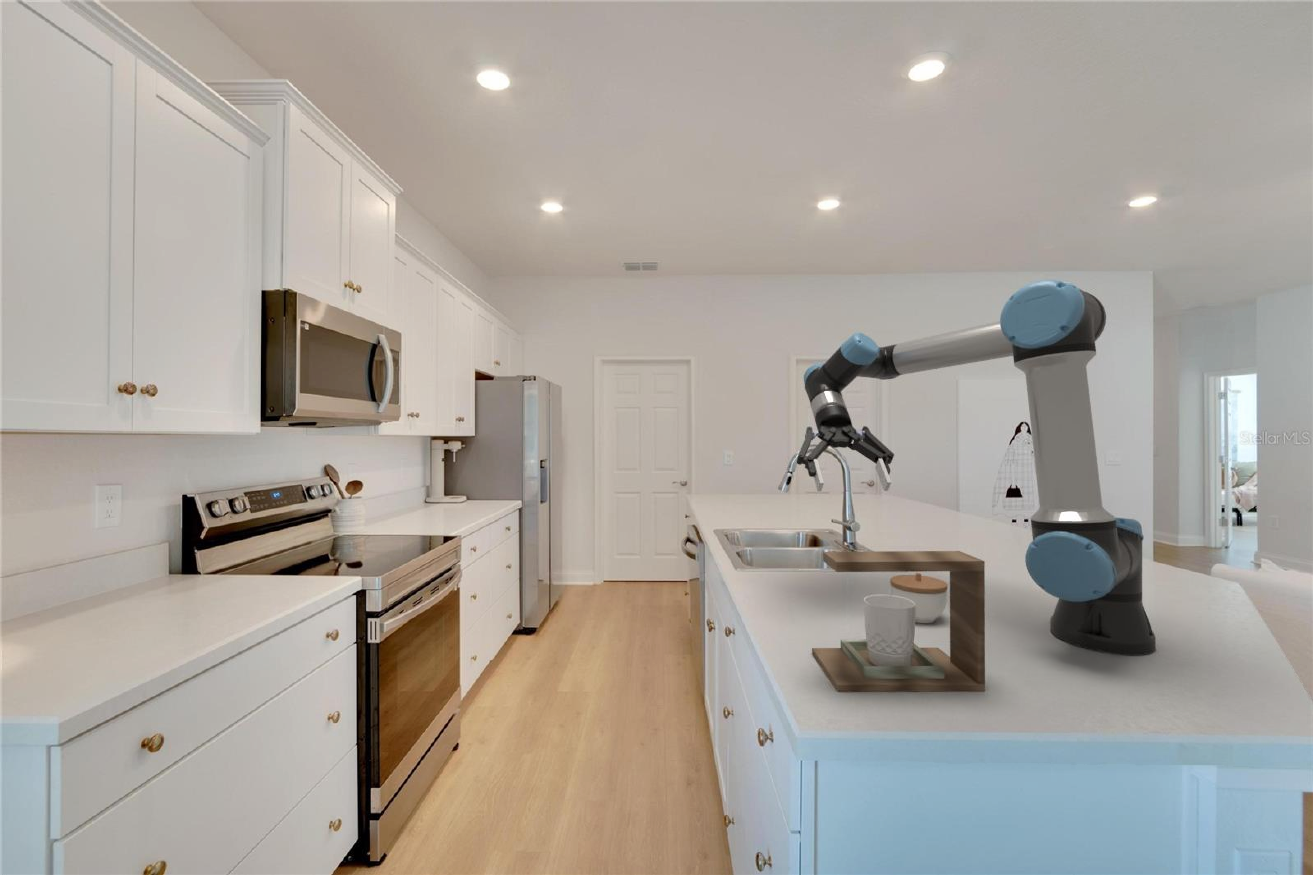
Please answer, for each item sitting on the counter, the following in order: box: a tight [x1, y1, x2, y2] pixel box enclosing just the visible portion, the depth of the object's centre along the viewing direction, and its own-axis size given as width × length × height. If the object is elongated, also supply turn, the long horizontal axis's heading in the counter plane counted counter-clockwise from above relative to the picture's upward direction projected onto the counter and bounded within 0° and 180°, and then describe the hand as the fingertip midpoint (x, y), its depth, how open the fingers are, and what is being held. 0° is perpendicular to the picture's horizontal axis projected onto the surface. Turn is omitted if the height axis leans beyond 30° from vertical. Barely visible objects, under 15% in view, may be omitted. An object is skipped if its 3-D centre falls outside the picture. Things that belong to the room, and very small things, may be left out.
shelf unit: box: [811, 550, 986, 693], centre depth 89 cm, size 22×14×20 cm, turn 89°
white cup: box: [863, 594, 916, 666], centre depth 90 cm, size 8×8×10 cm
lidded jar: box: [889, 572, 948, 624], centre depth 114 cm, size 11×11×9 cm
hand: (854, 487), depth 111 cm, fingers open, 13 cm apart
